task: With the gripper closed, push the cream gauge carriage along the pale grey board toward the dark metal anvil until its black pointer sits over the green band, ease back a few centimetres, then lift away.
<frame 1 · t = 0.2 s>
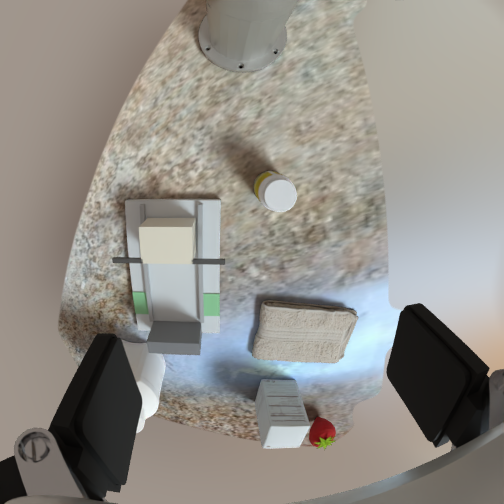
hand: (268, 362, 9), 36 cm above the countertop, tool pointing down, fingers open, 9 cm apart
gauge carriage: (168, 239, 40), point 4 cm above the countertop, slide at 0.0 cm
jar: (136, 359, 51), on the countertop
supplement box: (274, 390, 57), on the countertop
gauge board: (174, 269, 46), on the countertop
strawberry: (316, 417, 62), on the countertop
supplement bottle: (269, 186, 43), on the countertop
washcloth: (303, 329, 53), on the countertop
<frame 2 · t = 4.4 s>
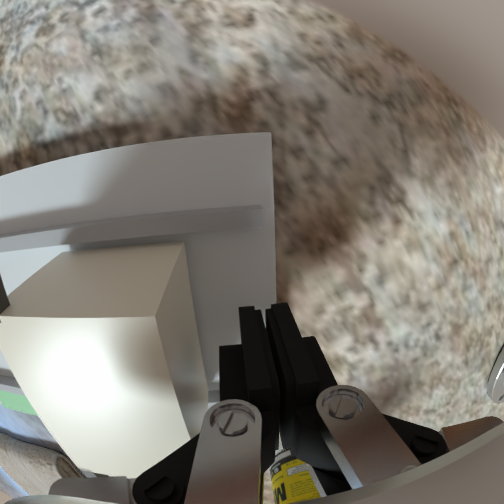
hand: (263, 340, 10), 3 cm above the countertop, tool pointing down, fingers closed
gauge carriage: (120, 368, 9), point 4 cm above the countertop, slide at 0.7 cm, touching gripper
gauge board: (50, 312, 12), on the countertop
supplement bottle: (300, 458, 18), on the countertop
washcloth: (56, 478, 19), on the countertop
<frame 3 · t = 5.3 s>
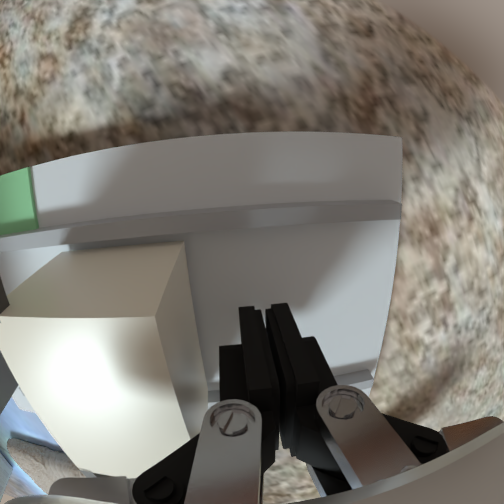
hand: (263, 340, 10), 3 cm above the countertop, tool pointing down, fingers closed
gauge carriage: (120, 368, 9), point 4 cm above the countertop, slide at 5.9 cm, touching gripper
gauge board: (141, 310, 13), on the countertop
washcloth: (94, 487, 20), on the countertop
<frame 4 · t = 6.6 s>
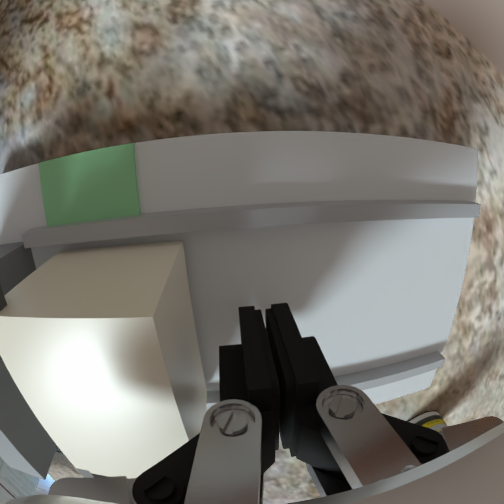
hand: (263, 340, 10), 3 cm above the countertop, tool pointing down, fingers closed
gauge carriage: (118, 369, 9), point 4 cm above the countertop, slide at 10.5 cm, touching gripper
supplement box: (4, 450, 17), on the countertop
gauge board: (244, 304, 13), on the countertop
supplement bottle: (413, 427, 19), on the countertop
washcloth: (133, 494, 20), on the countertop
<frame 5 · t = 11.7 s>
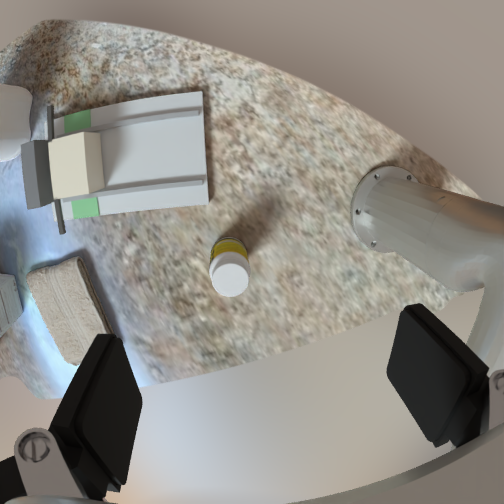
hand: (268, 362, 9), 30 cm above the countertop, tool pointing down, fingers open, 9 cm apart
gauge carriage: (76, 164, 30), point 4 cm above the countertop, slide at 10.6 cm
jar: (10, 123, 30), on the countertop
supplement box: (6, 291, 38), on the countertop
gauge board: (120, 157, 34), on the countertop
supplement bottle: (228, 253, 40), on the countertop
washcloth: (76, 311, 41), on the countertop
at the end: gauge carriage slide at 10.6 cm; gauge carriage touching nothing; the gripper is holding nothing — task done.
